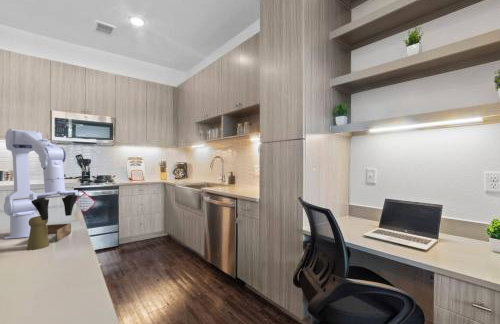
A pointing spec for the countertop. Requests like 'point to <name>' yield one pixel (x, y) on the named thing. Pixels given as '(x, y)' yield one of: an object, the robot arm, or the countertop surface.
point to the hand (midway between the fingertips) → (57, 217)
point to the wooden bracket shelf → (59, 230)
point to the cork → (37, 234)
